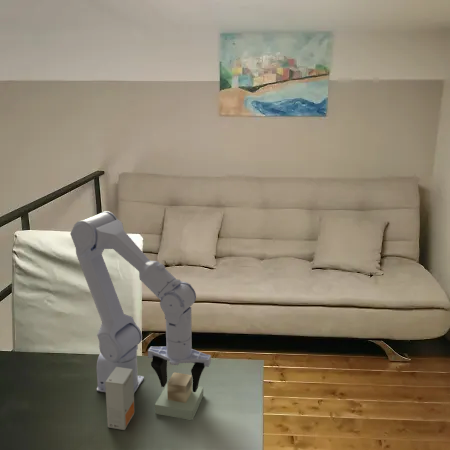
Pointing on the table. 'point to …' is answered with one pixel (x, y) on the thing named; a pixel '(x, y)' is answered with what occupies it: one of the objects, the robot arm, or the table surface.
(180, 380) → the maple cube
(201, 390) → the sage base
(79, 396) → the table surface
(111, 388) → the skincare box
